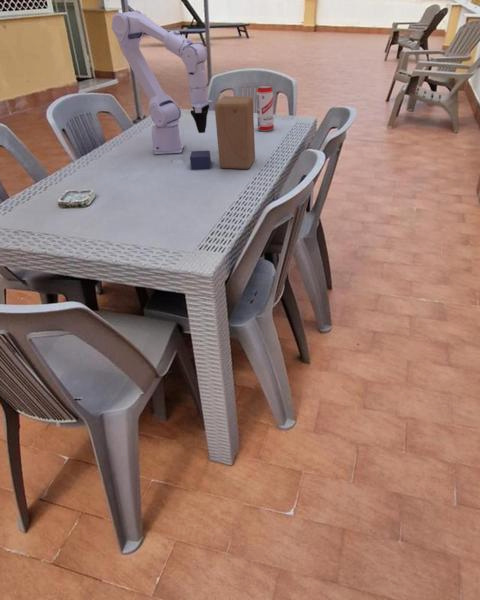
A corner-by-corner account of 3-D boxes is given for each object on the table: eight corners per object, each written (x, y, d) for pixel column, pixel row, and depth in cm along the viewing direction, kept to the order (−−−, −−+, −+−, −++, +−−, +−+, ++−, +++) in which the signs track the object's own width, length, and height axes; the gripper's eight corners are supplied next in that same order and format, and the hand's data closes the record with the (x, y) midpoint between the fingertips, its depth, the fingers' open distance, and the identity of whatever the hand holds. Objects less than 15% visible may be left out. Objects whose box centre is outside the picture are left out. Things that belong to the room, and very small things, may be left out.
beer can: (255, 129, 185) (253, 86, 175) (269, 126, 187) (268, 84, 177) (262, 133, 180) (260, 88, 171) (276, 130, 182) (275, 86, 173)
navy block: (191, 169, 149) (189, 157, 146) (193, 163, 154) (191, 151, 151) (210, 168, 149) (208, 156, 146) (210, 162, 154) (209, 150, 151)
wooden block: (249, 170, 146) (246, 103, 135) (219, 169, 148) (213, 103, 137) (255, 159, 154) (253, 95, 143) (227, 158, 156) (222, 95, 145)
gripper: (209, 90, 142) (213, 135, 149) (211, 81, 153) (215, 124, 161) (186, 91, 142) (191, 136, 149) (190, 82, 153) (195, 124, 161)
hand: (202, 130), depth 155 cm, fingers open, 5 cm apart
